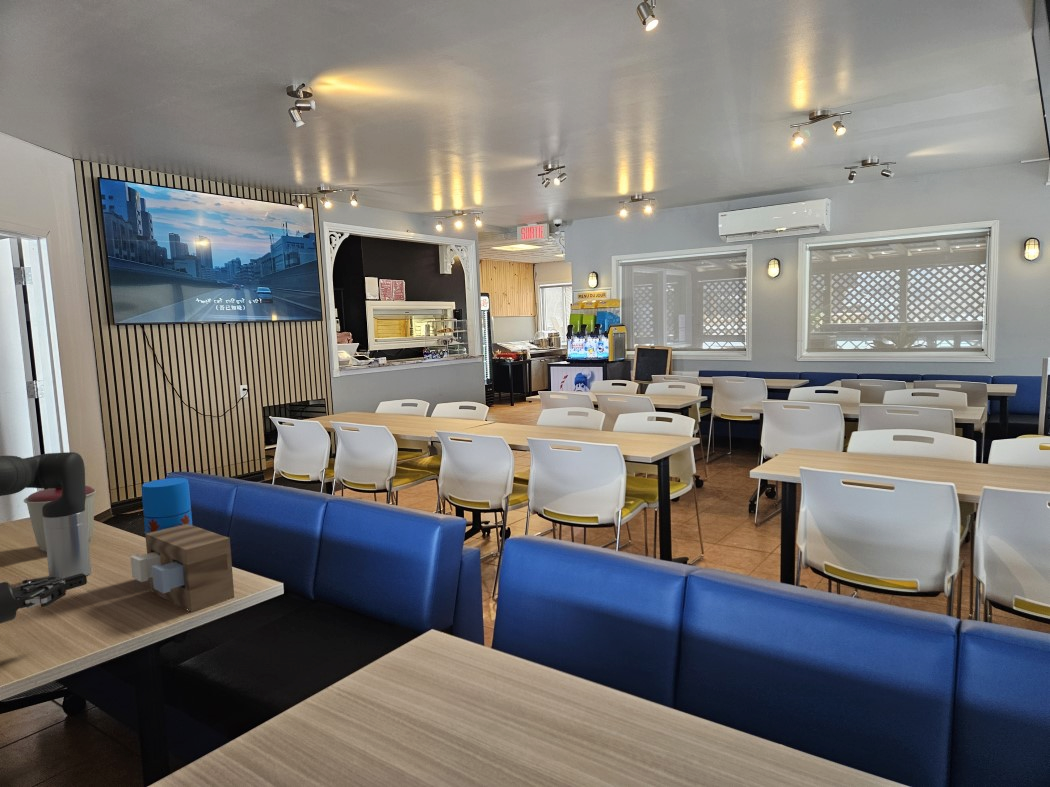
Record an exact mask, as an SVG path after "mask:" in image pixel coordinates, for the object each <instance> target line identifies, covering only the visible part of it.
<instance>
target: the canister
mask: <svg viewBox="0 0 1050 787" xmlns="http://www.w3.org/2000/svg"><path fill="white" fill-rule="evenodd" d="M85 488H86V500H85V512H86V521H87V531H88V541H89V543H90V542H91V541H92V538H93V535H94V524H95V523H94V522H95V520H94V519H95V494H96V493H97V489H96V488H93V487H91V486H88V485H85ZM61 495H62V488H51V489H42V490H39V491H35V492H33V493H31V494H30V495H28V497H26V498H24V499H23V502H24V503H25V504H26V506H27V511H28V513H29V518H30V523H31V526H32V531H33V534H34V537H35V541H36V544H37V546H38V548H39V550H41V551H43V552H44V553H47V550H46V541H45V532H44V523H43V514H42V507H43V505H45V504H46V503H48V502H51V501H54V500H56V499H58V498H60V497H61Z"/></svg>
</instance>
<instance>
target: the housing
mask: <svg viewBox="0 0 1050 787" xmlns="http://www.w3.org/2000/svg"><path fill="white" fill-rule="evenodd" d="M144 536H145V546H146V554H148V553H152V552H158V553H160V558H161V565H165V564H168V563H172V562H175V561H179V562H182V563H183V570H184V581H185V585H182V586H179V587H176V588H173V589H171V591H170V592H167V593H162V592H160V591H158V590H156V589H154V586H153V577H150V578H148V581H149V590H150V592H152V593H153V594H156V595H157V596H159V597H162V598H163V599H166V600H167V601H169V602H171V603H173V604H175V605H177V606H179V607H180V608H182V607H183V608H182V609H184V608H185V609H184V610H186V609H188V610H189V611H188V610H187V611H188V612H190V611H191V612H190V613H193V612H192V611H194V612H196V611H199V610H201V609H205V608H208V607H210V606H214V605H217V604H219V603H221V602H225V601H227V599H228V600H230V598H231V599H233V597H234V598H235V588H234V578H233V577H234V576H233V575H234V574H233V563H232V550H231V540H230V538H231V537H228V536H225V535H221V534H219V533H216V532H212V531H210V530H208V529H204V528H201V527H198V526H196V525H193V524H192V525H190V524H183V525H179V526H175V527H171V528H167V529H163V530H159V531H155V532H150V533H145V535H144ZM198 609H199V610H198ZM195 610H196V611H195Z"/></svg>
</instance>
